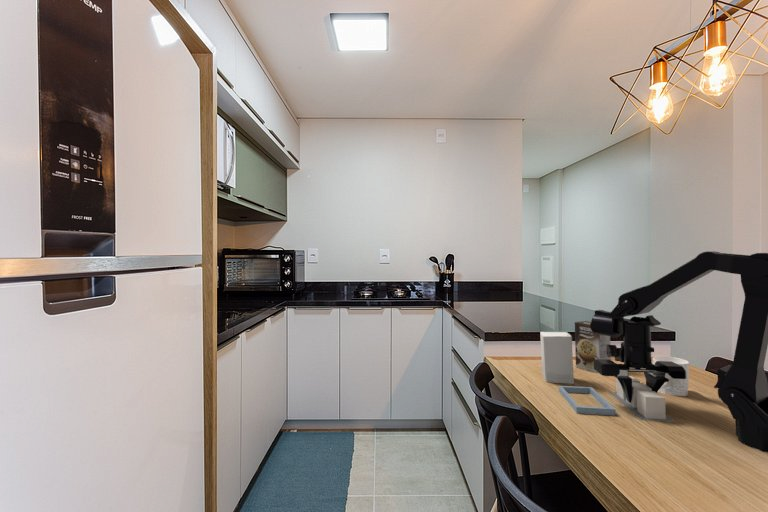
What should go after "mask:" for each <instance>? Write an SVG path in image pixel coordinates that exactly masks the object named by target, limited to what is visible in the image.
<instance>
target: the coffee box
mask: <svg viewBox="0 0 768 512" xmlns="http://www.w3.org/2000/svg"><path fill="white" fill-rule="evenodd" d="M590 323H591V321H588V320H585V321H584V320H583V321H582V320H581V321H575V322H574V341H575V342H574V346H575V347H574V348H575V353H574V354H575V367H576V368H578V369H580V370H581V369H582V370H585V371H587V372H591V373H594V374H599V373H598V372H597V371H596V370H594V361H595V360H596V359H607V360H612V359H611V358H612V357H608V356H607V351H606V349H607V345H611V336H605V335H599V334H594V333H593V332H592V330H591V327H590Z"/></svg>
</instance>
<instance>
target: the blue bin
mask: <svg viewBox="0 0 768 512" xmlns="http://www.w3.org/2000/svg"><path fill="white" fill-rule="evenodd" d="M558 392H559V393H560V395H562V397H563V399H564V400H565V401H566V402H567V403H568V404H569V405H570V407H571V408H572V409H573V411H574V412H575V413H576V414H584V415H585V414H586V415H602V416H616V408H615V407H614V406H612V405H611V404H610V403H609V402H608V401H607V400H606V399H605V398H604V397H603V396H602V395H601V394H600V393H598V392H597V391H596V390H595V389H594V388H593V387H592V386H572V385H571V386H570V385H567V386H566V385H558ZM569 393H577V394H590V396H592V397H593V398H594V399H595V401H596V402H598V403H599V404H600V405H601V406H583V405H579V403H577V402H576V400H574V398H573V397H572V396H571V395H570V394H569Z"/></svg>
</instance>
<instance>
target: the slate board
mask: <svg viewBox="0 0 768 512" xmlns="http://www.w3.org/2000/svg"><path fill="white" fill-rule="evenodd" d="M608 393H609V394H610V395H612V396H613V397H614V399H616V400H618V401H619V402H620V403H621V404H622V405H623V406H624V407H625V408H626V409H628V410H629V411H630V412H631V413H633V414H634V415H635V416H636V417H637V418H638V419H640V420H641V421H648V422H649V421H651V422H653V421H654V422H668V423H669V422H670V423H676V420H674V419H673V418H671V417H670V416H669V415H667V414H666V419H650V418H645V417H644V416H643V415H642V414H640V413H639V412H638V411H637V408H634V407H633V406H631V405H630V404H629V403H628V402H627V401H626V400H623V399H622V398H621V397H620V396H619V395H617V392H614V391H613V392H611V391H609V392H608Z"/></svg>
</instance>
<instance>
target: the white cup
mask: <svg viewBox="0 0 768 512" xmlns="http://www.w3.org/2000/svg"><path fill="white" fill-rule="evenodd" d="M656 361H672V362H674V363H676V364H678V365H680V366H682V367H683V368H684V369H685V370H686V379H673V378H671V377H670V376H669V375H668V373H666V375H665V377H666V378H667V379H669V382H665V383H664V384H663V385H662V386H661V388H660V389H659V390H658V392H659V393H662V394H665V395H669V396H673V397H686V396H688V389H689V379H690V377H689V376H690V362H689V361H688V360H686V359H684V358H680V357H679V358H678V357H674V356H666V355H664V356H663V355H655V356H653V357H652V364H654V365H655V363H656Z"/></svg>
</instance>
